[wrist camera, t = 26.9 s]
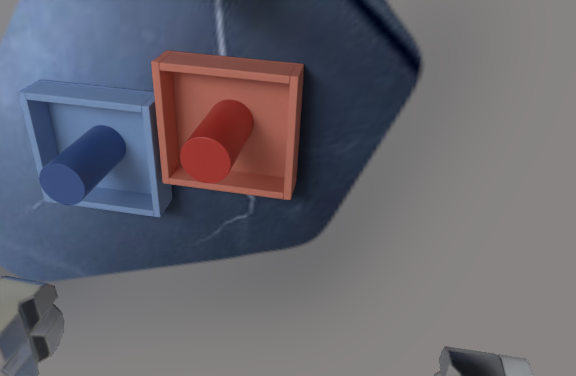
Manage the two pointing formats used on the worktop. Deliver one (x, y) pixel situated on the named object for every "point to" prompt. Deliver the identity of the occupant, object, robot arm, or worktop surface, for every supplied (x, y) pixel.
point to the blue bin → (110, 112)
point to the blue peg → (82, 165)
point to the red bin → (245, 89)
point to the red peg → (217, 142)
